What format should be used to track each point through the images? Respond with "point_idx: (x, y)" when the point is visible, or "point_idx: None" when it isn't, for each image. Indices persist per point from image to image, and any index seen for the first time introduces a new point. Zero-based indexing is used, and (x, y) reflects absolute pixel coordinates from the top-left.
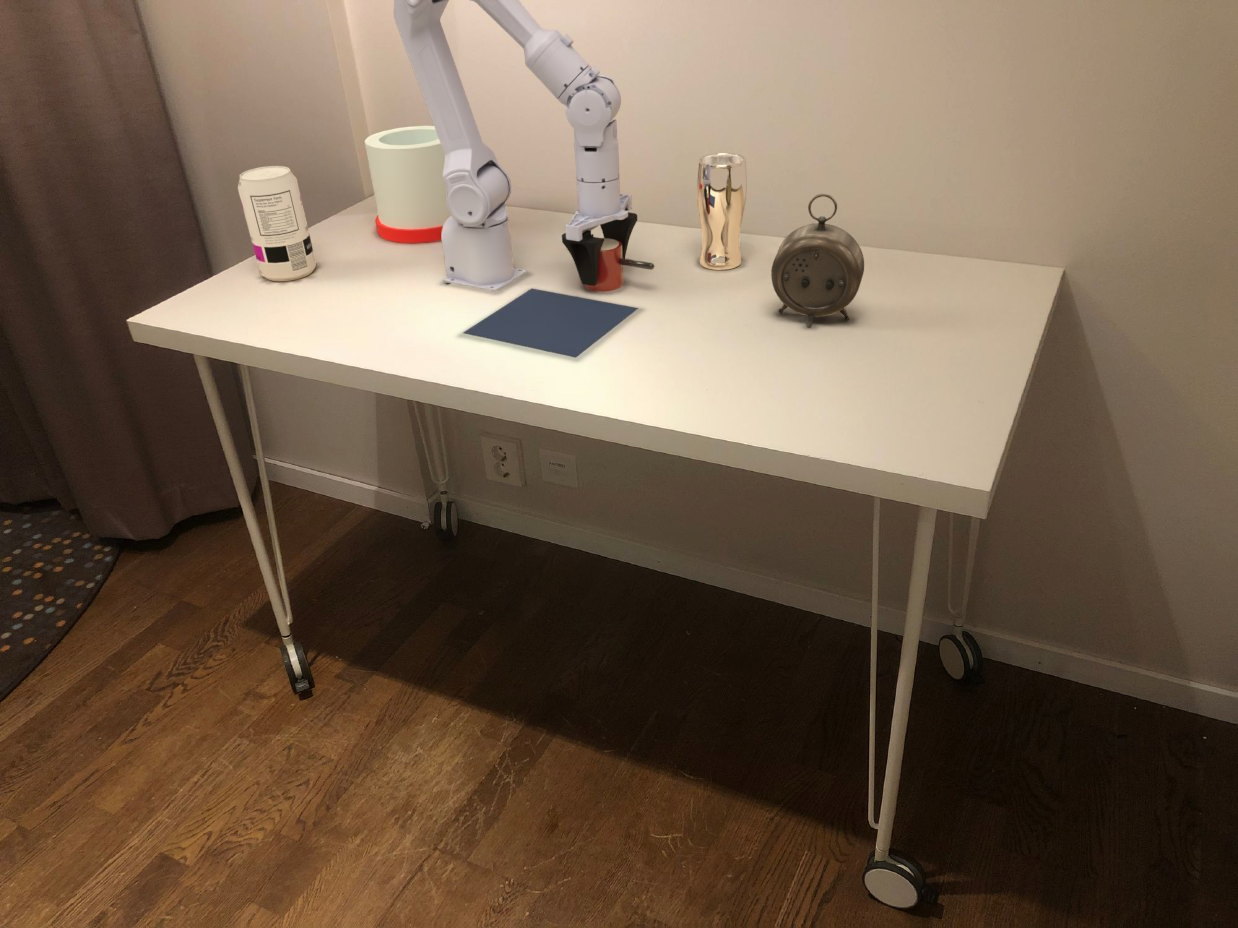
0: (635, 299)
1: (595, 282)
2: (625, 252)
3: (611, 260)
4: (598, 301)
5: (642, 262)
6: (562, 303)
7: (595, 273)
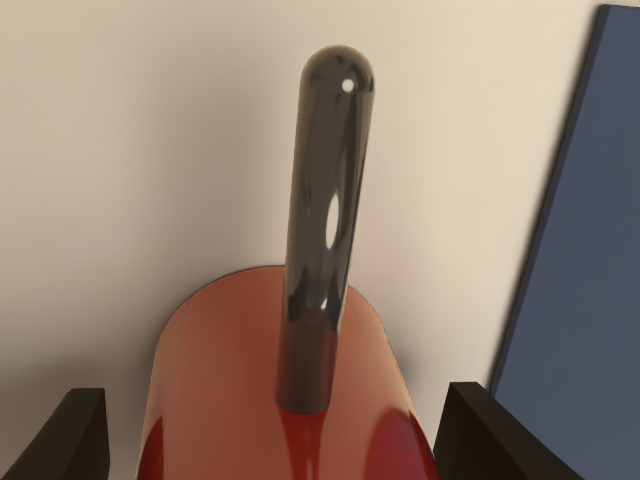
0: (419, 105)
1: (482, 391)
2: (41, 453)
3: (403, 441)
4: (536, 287)
5: (341, 193)
6: (586, 422)
7: (529, 433)
